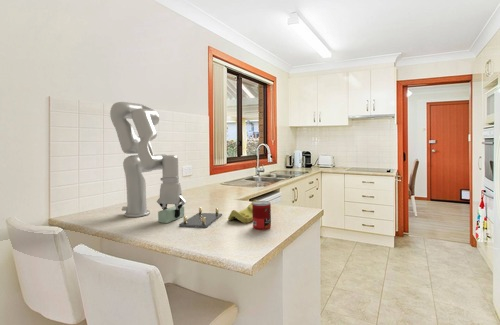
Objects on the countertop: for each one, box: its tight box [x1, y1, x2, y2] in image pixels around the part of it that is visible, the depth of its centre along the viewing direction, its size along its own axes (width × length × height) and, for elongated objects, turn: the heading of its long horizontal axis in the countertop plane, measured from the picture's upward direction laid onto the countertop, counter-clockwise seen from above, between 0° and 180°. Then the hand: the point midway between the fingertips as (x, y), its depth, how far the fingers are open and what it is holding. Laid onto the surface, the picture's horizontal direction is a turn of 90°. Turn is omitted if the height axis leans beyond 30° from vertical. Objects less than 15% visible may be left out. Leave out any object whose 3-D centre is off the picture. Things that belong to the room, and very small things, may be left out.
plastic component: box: [227, 199, 259, 224], centre depth 145 cm, size 20×7×10 cm
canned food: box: [251, 200, 272, 231], centre depth 128 cm, size 8×8×11 cm
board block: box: [157, 205, 185, 224], centre depth 145 cm, size 5×14×5 cm, turn 158°
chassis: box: [178, 207, 223, 229], centre depth 141 cm, size 13×22×4 cm, turn 167°
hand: (171, 216), depth 145 cm, fingers closed on board block, 5 cm apart
